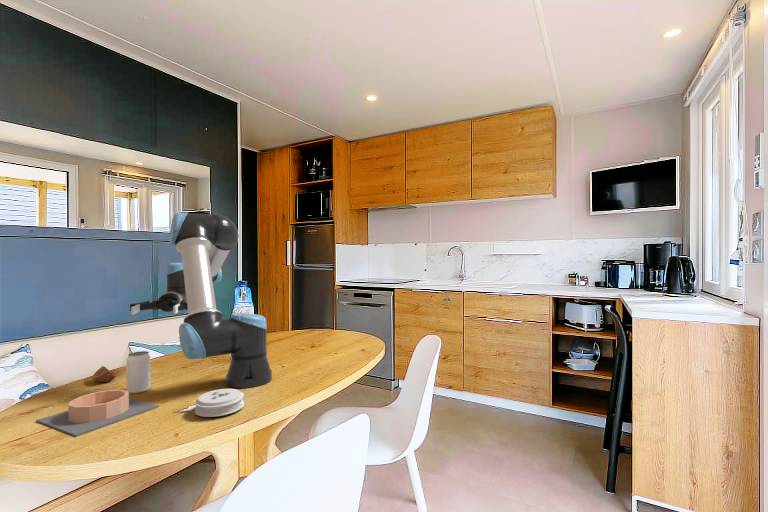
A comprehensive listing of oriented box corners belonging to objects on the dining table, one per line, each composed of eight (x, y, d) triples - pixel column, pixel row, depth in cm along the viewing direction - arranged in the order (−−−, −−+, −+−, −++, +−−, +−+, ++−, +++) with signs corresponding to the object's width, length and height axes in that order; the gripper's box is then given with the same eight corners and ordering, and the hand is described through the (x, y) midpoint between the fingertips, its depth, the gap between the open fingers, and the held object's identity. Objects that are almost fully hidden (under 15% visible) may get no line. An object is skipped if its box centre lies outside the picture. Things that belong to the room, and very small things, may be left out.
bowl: (138, 407, 105) (138, 393, 105) (85, 426, 94) (85, 410, 94) (112, 400, 111) (112, 387, 111) (59, 417, 100) (59, 402, 100)
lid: (193, 424, 96) (193, 404, 96) (196, 406, 108) (196, 389, 108) (245, 415, 101) (245, 396, 101) (243, 399, 113) (242, 382, 113)
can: (155, 388, 123) (154, 351, 123) (136, 394, 117) (136, 356, 117) (140, 386, 125) (140, 350, 126) (121, 392, 119) (121, 355, 119)
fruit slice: (118, 382, 130) (118, 368, 130) (94, 387, 125) (94, 372, 125) (113, 377, 136) (113, 363, 136) (90, 381, 131) (90, 367, 131)
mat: (158, 406, 107) (158, 405, 107) (76, 436, 89) (76, 435, 89) (118, 396, 116) (118, 395, 116) (36, 421, 98) (36, 420, 98)
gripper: (202, 309, 159) (191, 319, 139) (136, 311, 153) (113, 322, 132) (202, 292, 159) (191, 299, 139) (136, 293, 152) (113, 301, 132)
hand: (153, 310), depth 135 cm, fingers open, 13 cm apart
